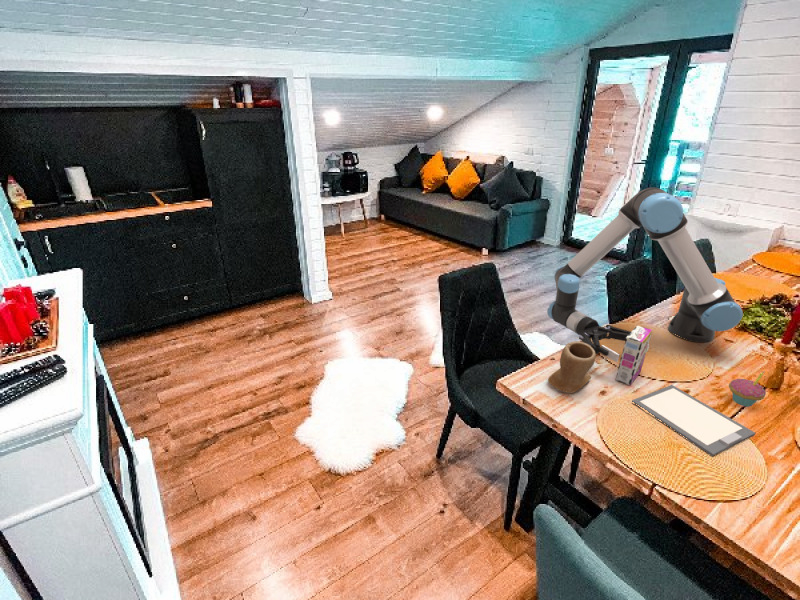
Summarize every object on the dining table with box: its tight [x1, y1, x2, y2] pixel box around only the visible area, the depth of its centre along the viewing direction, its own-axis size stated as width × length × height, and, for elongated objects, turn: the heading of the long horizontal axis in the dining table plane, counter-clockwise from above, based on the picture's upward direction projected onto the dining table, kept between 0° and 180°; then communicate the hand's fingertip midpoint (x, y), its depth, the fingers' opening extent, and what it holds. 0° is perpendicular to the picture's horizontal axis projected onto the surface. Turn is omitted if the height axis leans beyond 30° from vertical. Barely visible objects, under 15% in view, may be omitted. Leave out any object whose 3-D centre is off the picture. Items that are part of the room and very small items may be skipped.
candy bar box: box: [614, 325, 653, 386], centre depth 136 cm, size 11×5×16 cm, turn 136°
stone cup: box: [547, 340, 597, 394], centre depth 134 cm, size 15×12×15 cm
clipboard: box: [631, 384, 756, 457], centre depth 120 cm, size 18×24×2 cm
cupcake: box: [728, 371, 766, 408], centre depth 124 cm, size 9×8×12 cm
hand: (633, 353), depth 136 cm, fingers open, 13 cm apart
